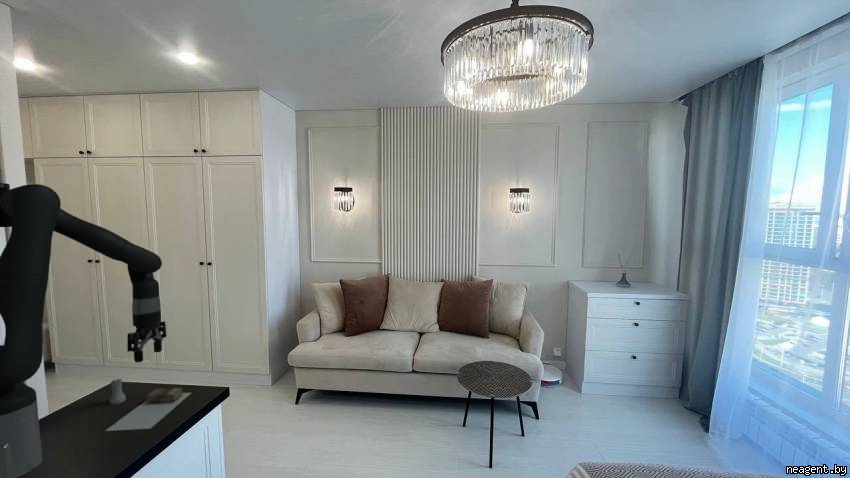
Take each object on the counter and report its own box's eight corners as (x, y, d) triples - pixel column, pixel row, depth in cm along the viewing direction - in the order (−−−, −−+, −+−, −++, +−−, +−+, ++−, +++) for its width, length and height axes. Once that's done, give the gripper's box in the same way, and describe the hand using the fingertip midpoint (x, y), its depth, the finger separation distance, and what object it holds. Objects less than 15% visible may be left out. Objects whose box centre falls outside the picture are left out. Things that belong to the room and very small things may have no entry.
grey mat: (150, 429, 103) (150, 428, 103) (105, 432, 102) (105, 430, 102) (191, 393, 124) (191, 392, 124) (154, 395, 123) (154, 394, 123)
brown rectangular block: (146, 404, 116) (146, 395, 116) (156, 397, 121) (155, 388, 121) (174, 402, 117) (173, 394, 117) (182, 395, 121) (181, 387, 121)
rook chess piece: (113, 399, 120) (112, 378, 119) (128, 397, 121) (127, 376, 121) (106, 406, 116) (104, 384, 115) (122, 404, 117) (120, 382, 116)
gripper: (151, 305, 121) (152, 349, 122) (117, 316, 107) (119, 365, 107) (172, 305, 121) (174, 348, 122) (142, 315, 107) (144, 365, 108)
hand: (148, 356), depth 115 cm, fingers open, 8 cm apart
